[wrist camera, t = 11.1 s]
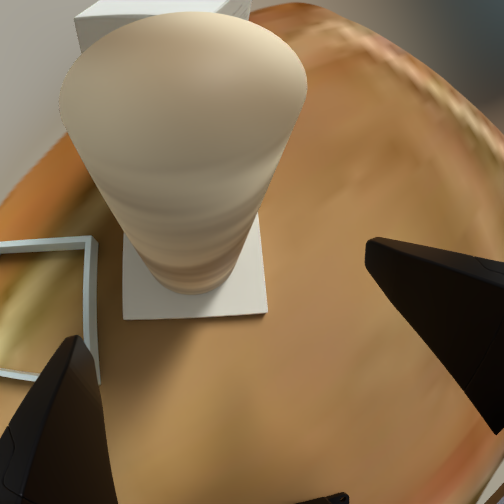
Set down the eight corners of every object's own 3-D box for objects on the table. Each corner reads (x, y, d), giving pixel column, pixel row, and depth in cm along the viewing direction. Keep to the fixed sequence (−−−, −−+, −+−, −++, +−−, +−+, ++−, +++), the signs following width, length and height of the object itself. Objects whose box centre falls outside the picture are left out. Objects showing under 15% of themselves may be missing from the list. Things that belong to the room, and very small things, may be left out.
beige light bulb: (213, 311, 18) (244, 220, 5) (128, 268, 18) (15, 120, 5) (253, 228, 20) (331, 52, 7) (173, 191, 20) (155, 0, 7)
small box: (162, 106, 23) (157, -35, 11) (233, 122, 23) (260, -26, 11) (117, 180, 20) (69, 17, 8) (200, 202, 20) (209, 19, 8)
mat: (266, 313, 19) (268, 312, 19) (125, 320, 18) (123, 319, 17) (253, 186, 22) (254, 182, 21) (128, 191, 20) (127, 187, 20)
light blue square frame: (101, 384, 16) (93, 387, 15) (-6, 371, 15) (-17, 372, 13) (98, 242, 19) (91, 235, 17) (-3, 249, 17) (-13, 242, 16)
